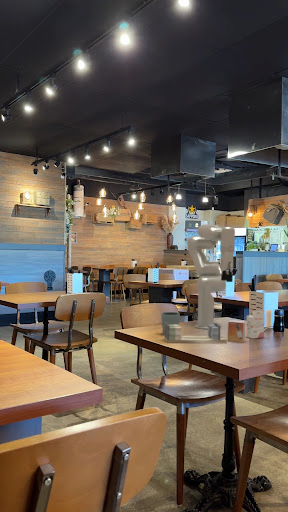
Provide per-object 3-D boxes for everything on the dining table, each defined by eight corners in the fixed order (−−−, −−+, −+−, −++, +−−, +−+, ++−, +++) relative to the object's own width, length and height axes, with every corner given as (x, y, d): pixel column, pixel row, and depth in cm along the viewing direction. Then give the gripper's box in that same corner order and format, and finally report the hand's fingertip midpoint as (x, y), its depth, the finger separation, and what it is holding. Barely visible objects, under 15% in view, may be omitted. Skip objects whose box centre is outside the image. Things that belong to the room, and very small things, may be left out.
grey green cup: (183, 335, 232) (183, 313, 232) (171, 337, 225) (171, 315, 225) (168, 332, 239) (169, 311, 239) (157, 334, 232) (157, 313, 232)
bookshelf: (164, 339, 220) (164, 322, 220) (220, 339, 223) (220, 322, 223) (167, 344, 209) (167, 326, 209) (226, 344, 212) (226, 326, 212)
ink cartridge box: (257, 335, 235) (258, 309, 235) (264, 337, 231) (264, 310, 231) (245, 336, 231) (246, 310, 231) (252, 338, 227) (252, 311, 227)
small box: (227, 341, 218) (227, 321, 218) (229, 339, 224) (230, 319, 223) (243, 343, 215) (243, 322, 215) (244, 341, 221) (245, 321, 220)
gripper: (216, 249, 239) (215, 279, 239) (225, 249, 222) (224, 282, 222) (229, 249, 240) (228, 280, 240) (239, 250, 222) (238, 282, 223)
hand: (226, 281), depth 231 cm, fingers open, 9 cm apart
